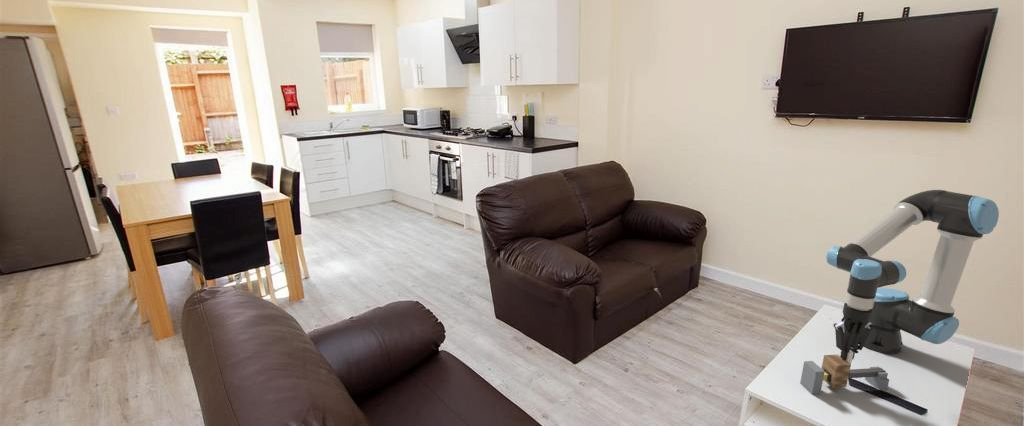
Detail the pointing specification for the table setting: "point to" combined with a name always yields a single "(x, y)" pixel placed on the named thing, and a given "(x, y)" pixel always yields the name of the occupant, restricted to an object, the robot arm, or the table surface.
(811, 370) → the rod rig
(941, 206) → the robot arm
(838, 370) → the wooden block on rod
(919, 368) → the table surface
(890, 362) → the table surface
